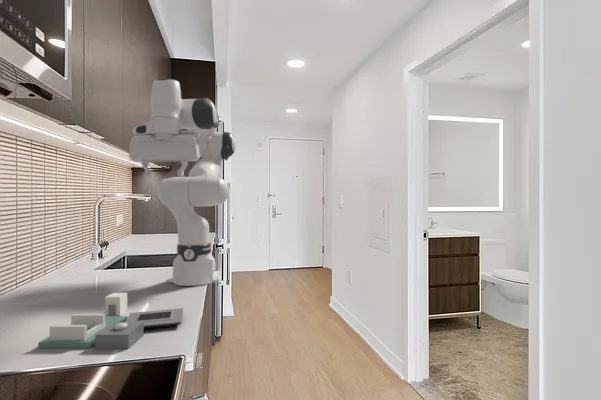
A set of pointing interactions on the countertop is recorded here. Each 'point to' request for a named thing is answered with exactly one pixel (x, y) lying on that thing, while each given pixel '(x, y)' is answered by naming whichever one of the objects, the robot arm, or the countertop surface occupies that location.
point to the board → (79, 331)
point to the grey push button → (119, 335)
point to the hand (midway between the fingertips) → (164, 176)
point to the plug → (115, 304)
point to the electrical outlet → (157, 318)
